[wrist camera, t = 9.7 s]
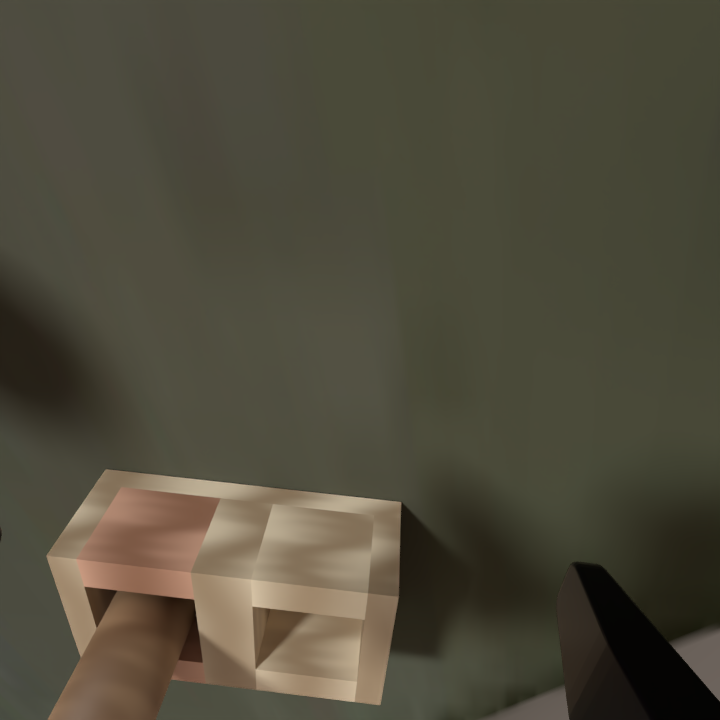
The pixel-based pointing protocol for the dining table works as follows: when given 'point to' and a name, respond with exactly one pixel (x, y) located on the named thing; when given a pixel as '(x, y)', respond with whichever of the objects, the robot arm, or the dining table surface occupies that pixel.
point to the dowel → (128, 659)
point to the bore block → (243, 578)
